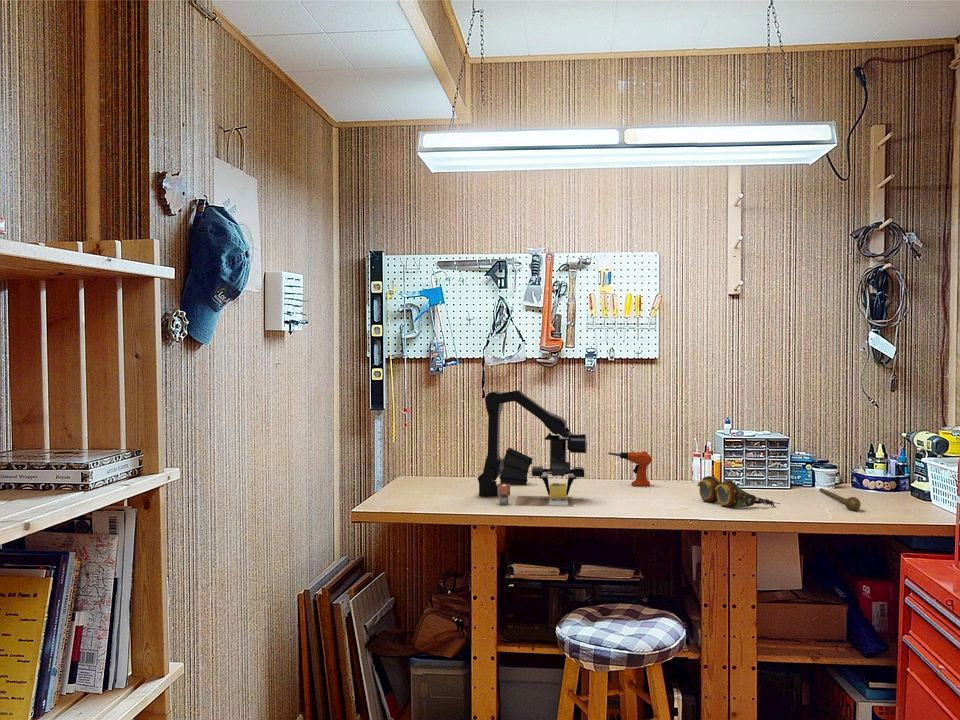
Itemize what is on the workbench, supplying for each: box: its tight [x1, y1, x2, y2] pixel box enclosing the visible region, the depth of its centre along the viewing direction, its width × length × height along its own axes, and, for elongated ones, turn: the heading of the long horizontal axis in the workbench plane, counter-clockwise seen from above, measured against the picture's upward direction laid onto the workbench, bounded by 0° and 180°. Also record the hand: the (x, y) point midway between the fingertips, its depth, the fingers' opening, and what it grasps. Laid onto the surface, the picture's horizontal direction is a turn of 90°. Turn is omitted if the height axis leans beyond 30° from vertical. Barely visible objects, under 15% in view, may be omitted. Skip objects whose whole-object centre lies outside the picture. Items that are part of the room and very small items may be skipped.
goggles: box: [696, 475, 775, 509], centre depth 252 cm, size 24×24×10 cm
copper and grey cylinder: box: [497, 483, 511, 506], centre depth 246 cm, size 4×4×8 cm
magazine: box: [499, 446, 534, 486], centre depth 288 cm, size 4×13×15 cm, turn 89°
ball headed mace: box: [818, 487, 862, 512], centre depth 254 cm, size 5×35×5 cm
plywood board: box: [514, 495, 574, 508], centre depth 251 cm, size 20×16×1 cm
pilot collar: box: [548, 497, 568, 507], centre depth 246 cm, size 7×7×2 cm
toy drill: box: [607, 450, 652, 488], centre depth 285 cm, size 5×18×14 cm, turn 82°
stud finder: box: [549, 482, 567, 498], centre depth 254 cm, size 6×7×5 cm
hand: (558, 495), depth 254 cm, fingers open, 6 cm apart
